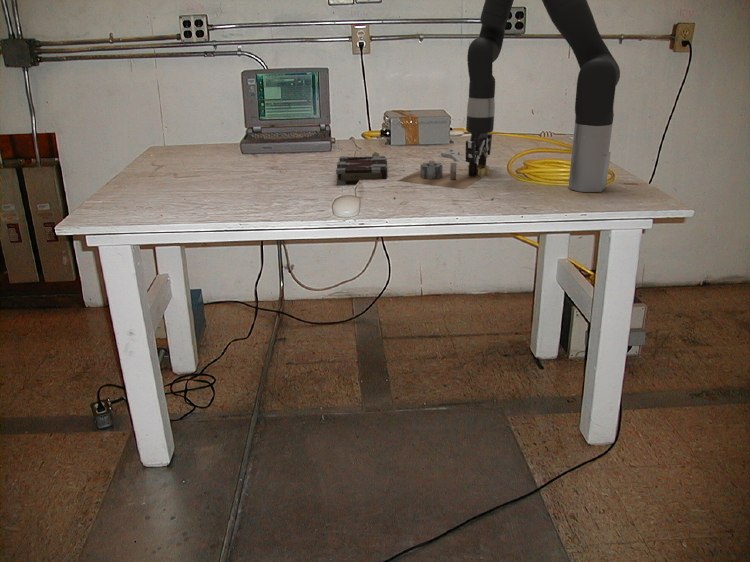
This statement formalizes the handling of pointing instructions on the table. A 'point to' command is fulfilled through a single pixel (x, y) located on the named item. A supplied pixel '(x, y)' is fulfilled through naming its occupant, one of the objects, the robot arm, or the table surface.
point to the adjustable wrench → (453, 155)
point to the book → (361, 168)
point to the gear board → (443, 179)
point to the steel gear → (431, 171)
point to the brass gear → (480, 170)
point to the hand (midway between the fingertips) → (477, 173)
